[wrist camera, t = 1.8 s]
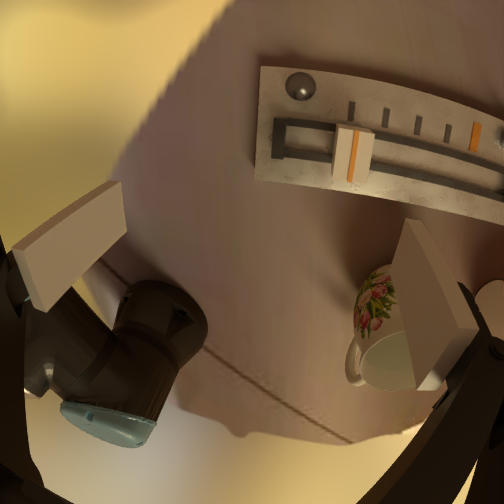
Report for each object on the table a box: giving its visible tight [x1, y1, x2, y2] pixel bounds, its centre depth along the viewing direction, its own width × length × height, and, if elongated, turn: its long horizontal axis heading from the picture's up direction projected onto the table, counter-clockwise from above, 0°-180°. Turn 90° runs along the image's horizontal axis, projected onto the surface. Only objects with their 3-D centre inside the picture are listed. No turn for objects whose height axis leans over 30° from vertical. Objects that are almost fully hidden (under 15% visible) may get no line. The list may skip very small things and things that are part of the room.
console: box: [254, 66, 504, 226], centre depth 26 cm, size 32×12×4 cm, turn 87°
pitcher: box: [345, 264, 416, 391], centre depth 32 cm, size 11×18×14 cm, turn 154°
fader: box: [331, 124, 375, 184], centre depth 26 cm, size 3×4×5 cm, turn 177°
